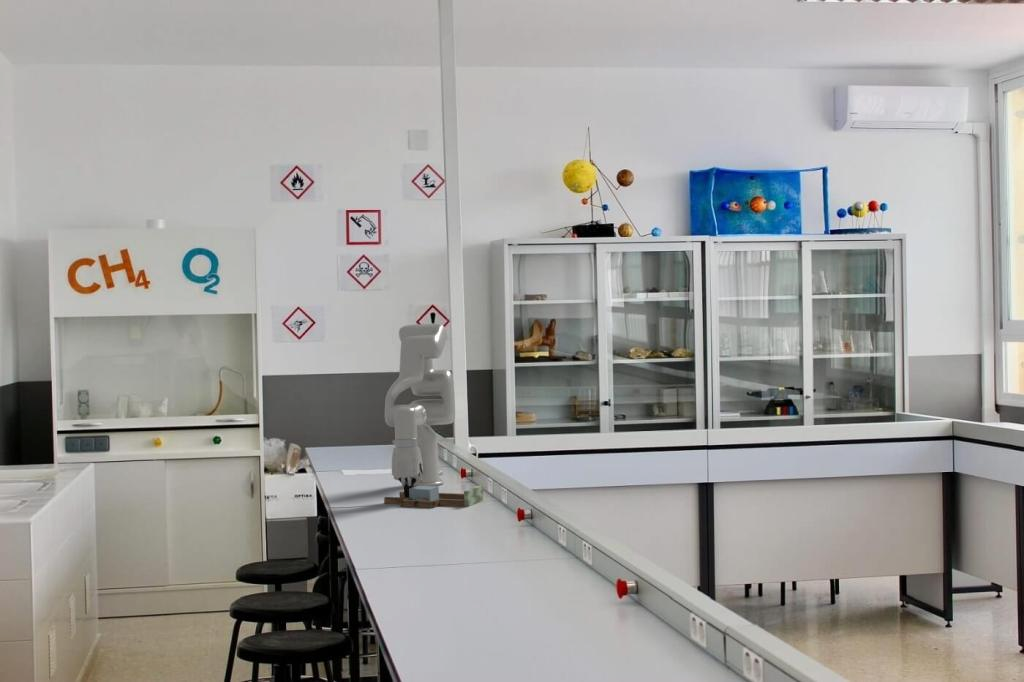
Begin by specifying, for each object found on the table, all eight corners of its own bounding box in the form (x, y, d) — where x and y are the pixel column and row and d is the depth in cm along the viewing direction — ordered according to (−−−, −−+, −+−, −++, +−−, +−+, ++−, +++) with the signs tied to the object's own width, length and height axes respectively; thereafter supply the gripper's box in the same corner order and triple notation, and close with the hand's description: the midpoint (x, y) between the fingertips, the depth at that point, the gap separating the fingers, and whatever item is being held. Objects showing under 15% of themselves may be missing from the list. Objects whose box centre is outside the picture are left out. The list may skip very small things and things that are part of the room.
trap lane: (401, 497, 384) (400, 483, 384) (483, 500, 371) (482, 485, 371) (377, 505, 370) (377, 490, 370) (462, 509, 357) (461, 493, 356)
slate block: (418, 500, 377) (418, 485, 377) (439, 501, 374) (438, 486, 373) (409, 503, 372) (409, 488, 371) (430, 504, 368) (429, 489, 368)
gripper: (381, 444, 375) (384, 498, 376) (420, 445, 369) (422, 499, 369) (393, 441, 382) (395, 494, 383) (431, 442, 376) (433, 495, 376)
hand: (409, 496), depth 376 cm, fingers closed
